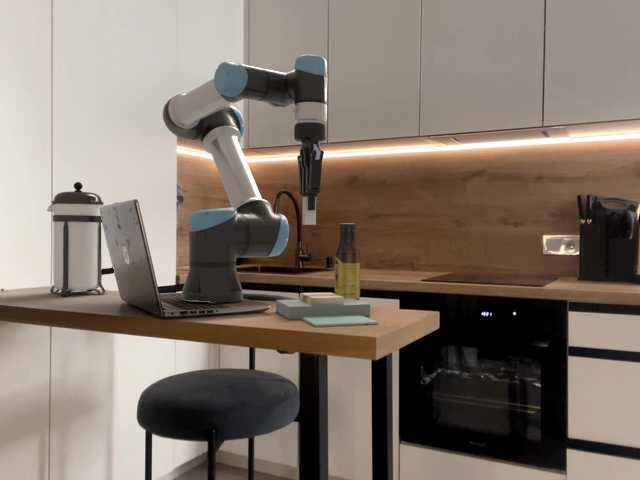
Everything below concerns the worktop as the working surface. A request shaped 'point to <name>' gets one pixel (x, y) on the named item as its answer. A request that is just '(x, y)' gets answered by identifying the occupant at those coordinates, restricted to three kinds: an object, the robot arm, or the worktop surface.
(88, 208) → the coffee press
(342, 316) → the mat
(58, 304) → the worktop surface
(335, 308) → the grey slab
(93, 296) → the worktop surface
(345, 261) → the sauce bottle
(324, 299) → the cream notepad
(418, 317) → the worktop surface
